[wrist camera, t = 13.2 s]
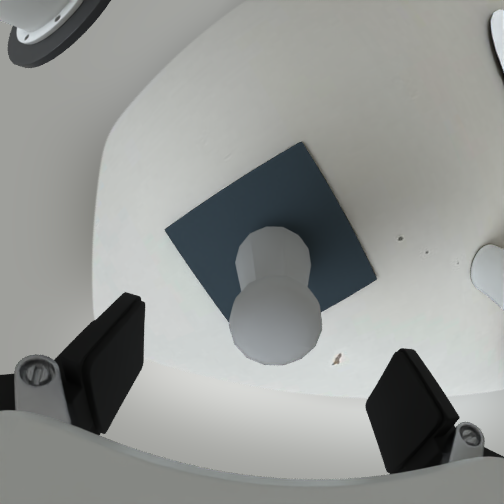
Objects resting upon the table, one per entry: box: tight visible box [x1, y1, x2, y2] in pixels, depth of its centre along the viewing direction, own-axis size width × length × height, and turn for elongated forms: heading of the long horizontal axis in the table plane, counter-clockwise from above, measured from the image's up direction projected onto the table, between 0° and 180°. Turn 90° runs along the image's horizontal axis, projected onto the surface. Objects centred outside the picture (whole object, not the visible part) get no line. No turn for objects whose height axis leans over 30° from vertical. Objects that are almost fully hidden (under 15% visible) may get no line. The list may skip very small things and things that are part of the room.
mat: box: [165, 142, 377, 322], centre depth 25 cm, size 14×14×1 cm
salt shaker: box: [229, 227, 322, 365], centre depth 18 cm, size 6×6×13 cm
